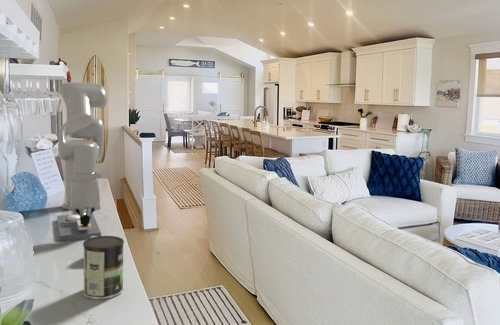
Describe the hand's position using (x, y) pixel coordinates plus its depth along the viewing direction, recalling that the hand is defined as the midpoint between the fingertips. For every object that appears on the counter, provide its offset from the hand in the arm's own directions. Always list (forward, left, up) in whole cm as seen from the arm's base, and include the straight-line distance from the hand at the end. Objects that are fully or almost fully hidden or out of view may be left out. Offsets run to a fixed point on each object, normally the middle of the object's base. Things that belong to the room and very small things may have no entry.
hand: (85, 226), depth 156 cm
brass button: (-22, +1, -2) cm, 22 cm away
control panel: (-13, -1, -5) cm, 14 cm away
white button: (-13, -3, -1) cm, 13 cm away
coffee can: (+47, +1, -5) cm, 47 cm away
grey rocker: (-4, 0, -1) cm, 4 cm away
